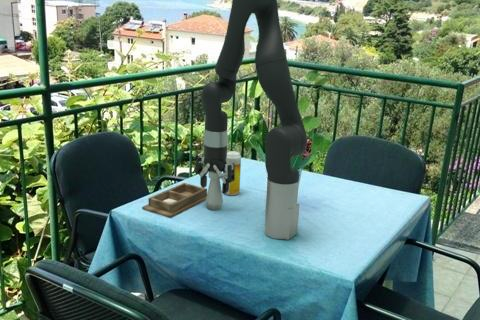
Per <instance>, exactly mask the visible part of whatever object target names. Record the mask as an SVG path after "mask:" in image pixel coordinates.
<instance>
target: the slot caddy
mask: <svg viewBox="0 0 480 320" xmlns="http://www.w3.org/2000/svg"><path fill="white" fill-rule="evenodd" d="M207 192H208V188H206V187H204V188H202V187H201V186H197V185H196V184H195V185H194V184H191V183H186V182H182V183H181V184H178V185H176V186H173V187H171V188H169V189H167V190H164V191H162V192H160V193H157V194H155V195H152V196H151V197H148V199H147V200H148V201H147V202H148V203H147V204H146V205H144V206H141V209H142V210H144V211H147V212H148V213H149V212H150V213H152V214H156V215H159V216H162V217H165V218H169V219H172V218H174V217H176V216H178V215H180V214H182V213H184V212H186V211H188V210H190V209H192V208H194V207H195V206H198V205H200V204H202V203H204V202H206V197H207Z"/></svg>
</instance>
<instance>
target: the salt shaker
mask: <svg viewBox="0 0 480 320" xmlns="http://www.w3.org/2000/svg"><path fill="white" fill-rule="evenodd" d="M207 176H208V179H210V180H209V184H208V188H207V197H206V201H205V204H206V206H207V208H208V209H209V210H211V211H218V210H220V209H221V207H222V206H223V203H224V199H223V193H222V186H221V178H220V177H219V176H218V174H217V173H216V172H212V171H210V172H208V173H207Z"/></svg>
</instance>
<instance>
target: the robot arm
mask: <svg viewBox="0 0 480 320" xmlns="http://www.w3.org/2000/svg"><path fill="white" fill-rule="evenodd" d="M252 14H253V15H254V16H255V18H256V23H257V28H258V41H257V43H256V44H257V45H256V50H255V54H254V55H255V56H254V65H255V70H256V75H257V80H258V83H259V85H260V88H261V89H262V91H263V92H264V94H265V95H266V97H267V98H268V99H269V100H270V102H271V103H272V105H273V106H274V107H275V110H276V111H277V115H278V117H279V118H278V119H279V122H280V125H279V126H275V127H273V128H271V129H270V130H269V131H268V132H267V135H266V138H265V148H264V149H265V150H264V151H265V153H264V154H265V156H264V157H265V160H264V161H265V165H264V166H265V170H266V173H267V177H266V178H267V179H266V193H265V195H266V197H265V213H264V233H265V235H266V236H267V237H269V238H273V239H278V240H287V241H289V240H290V239H292V238H293V237H294V236H296V235H297V234H298V232H299V231H298V229H299V217H300V215H299V214H300V204H299V203H298V197H299V196H298V194H299V182H300V172H299V169H297V168H296V167H293V166H291V164H292V163H291V158H292V157H295V156H299V155H301V154H303V153H304V152H305V151H306V149H307V147H308V135H307V131H306V128H305V124H304V123H303V118H302V117H301V113H300V110H299V106H298V103H297V99H296V96H295V95H296V94H295V91H294V87H293V83H292V78H291V73H290V72H291V71H290V66H289V63H288V58H287V54H286V49H285V45H284V40H283V35H282V31H281V30H282V29H281V26H280V25H281V24H280V17H279V16H280V15H279V9H278V0H232V2H231V7H230V13H229V17H228V23H227V28H226V32H225V36H224V37H225V38H224V40H223V44H222V48H221V49H220V53H219V56H218V58H217V61H216V63H215V67H214V71H215V74H217V76H218V78H217V81H211V82H208V83H206V84H205V85H204V86H203V88H202V91H201V103H202V107H203V112H204V115H205V129H204V130H205V131H204V136H203V137H204V139H203V142H204V145H203V155H200V156H197V157H196V159H195V170H194V172H195V174H196V175H199V177H200V181H199V184H200V187H202V188H206V187H207V184H208V174H209V172H210V171H212V172H216V173H217V174H218V176H219V177H220V180H221V182H222V186H221V191H222V195H223V194H224V195H226V194H225V193H227V192H228V191H229V183H230V182H232V181H234V180H235V165H234V163H232V164H228V163H227V162H226V158H227V152H228V142H229V141H228V139H229V136H228V123H229V122H228V121H229V120H228V114H227V113H226V111H223V110H222V108H221V104H224V103H227V102H229V101H230V100H231V99H232V98H233V96H234V94H235V91H236V83H237V75H238V73H239V70H240V67H241V65H242V63H243V59H244V56H245V51H246V47H245V45H246V42H245V33H246V27H247V24H248V22H249V19H250V17H251V15H252ZM225 168H227V169H225ZM226 170H227V171H226Z"/></svg>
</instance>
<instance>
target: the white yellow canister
mask: <svg viewBox="0 0 480 320" xmlns="http://www.w3.org/2000/svg"><path fill="white" fill-rule="evenodd" d="M226 162H227V163H228V164H232V163H234V165H235V180H234V181H232V182H230V183H229V191H228V192H227V193H225V194H224V195H226V196H231V197H232V196H236V195H238V194H239V193H240V187H241V167H242V166H241V163H242V156H241V153H240V152H238V151H234V150H233V151H231V150H230V151H227V158H226ZM225 169H227V168H225ZM226 171H227V170H226Z"/></svg>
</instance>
